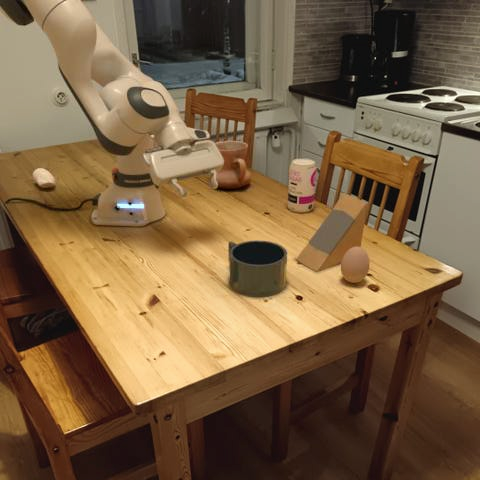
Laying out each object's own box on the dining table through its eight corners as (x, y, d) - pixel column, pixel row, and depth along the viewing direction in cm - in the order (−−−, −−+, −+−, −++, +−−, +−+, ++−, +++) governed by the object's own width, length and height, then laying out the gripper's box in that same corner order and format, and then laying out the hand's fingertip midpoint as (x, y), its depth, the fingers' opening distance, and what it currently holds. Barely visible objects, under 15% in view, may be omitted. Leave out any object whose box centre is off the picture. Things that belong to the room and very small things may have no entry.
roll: (42, 194, 172) (39, 178, 169) (34, 184, 180) (30, 168, 177) (60, 191, 175) (57, 175, 171) (51, 181, 183) (47, 166, 180)
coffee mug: (297, 284, 120) (299, 254, 116) (254, 303, 113) (255, 271, 109) (249, 258, 132) (250, 230, 127) (208, 274, 125) (207, 244, 120)
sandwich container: (294, 259, 131) (297, 204, 123) (337, 245, 139) (343, 192, 130) (316, 272, 126) (321, 215, 117) (359, 256, 133) (367, 202, 124)
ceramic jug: (202, 181, 183) (201, 141, 175) (238, 176, 188) (238, 136, 181) (223, 197, 170) (222, 154, 162) (261, 190, 175) (262, 149, 167)
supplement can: (315, 205, 163) (319, 159, 155) (309, 215, 157) (313, 167, 148) (291, 202, 165) (293, 156, 157) (284, 211, 159) (287, 164, 150)
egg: (348, 290, 118) (353, 255, 113) (333, 278, 123) (337, 244, 118) (372, 285, 120) (378, 250, 115) (356, 273, 125) (361, 239, 120)
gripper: (143, 143, 119) (168, 194, 118) (213, 130, 130) (236, 177, 129) (136, 158, 124) (160, 207, 123) (204, 144, 135) (226, 189, 134)
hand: (199, 191), depth 126 cm, fingers open, 8 cm apart
